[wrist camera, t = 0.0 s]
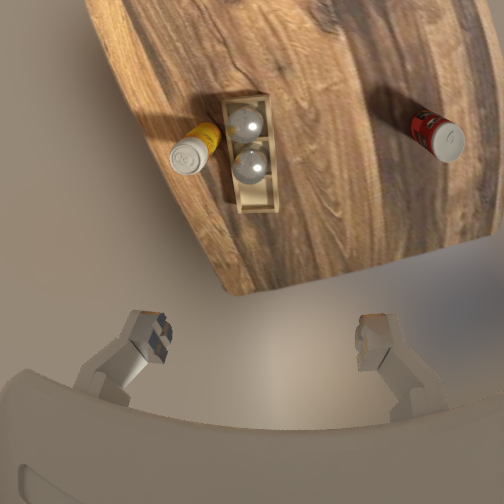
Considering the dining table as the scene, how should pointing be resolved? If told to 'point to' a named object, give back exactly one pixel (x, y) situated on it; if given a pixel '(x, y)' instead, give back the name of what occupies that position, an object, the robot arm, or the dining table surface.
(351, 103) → the dining table surface
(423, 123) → the canned food
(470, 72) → the dining table surface
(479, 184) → the dining table surface
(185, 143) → the beer can
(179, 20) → the dining table surface
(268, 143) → the compartment tray
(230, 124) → the seated canisters
